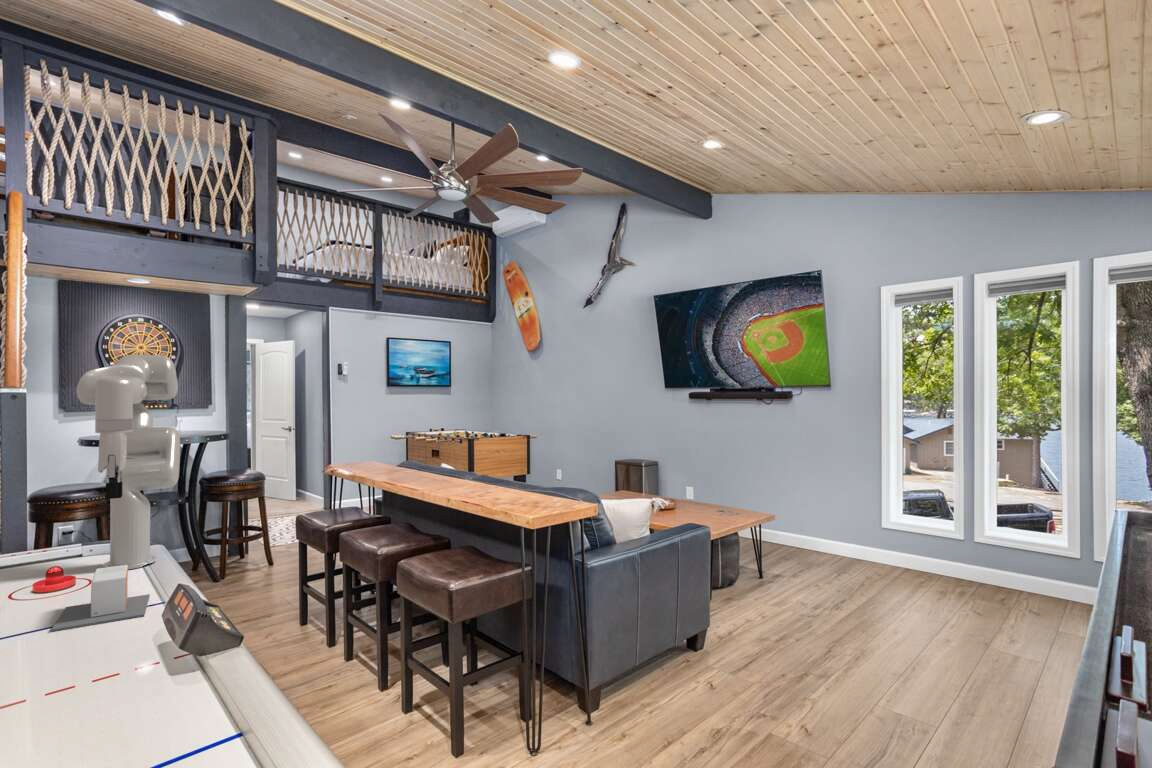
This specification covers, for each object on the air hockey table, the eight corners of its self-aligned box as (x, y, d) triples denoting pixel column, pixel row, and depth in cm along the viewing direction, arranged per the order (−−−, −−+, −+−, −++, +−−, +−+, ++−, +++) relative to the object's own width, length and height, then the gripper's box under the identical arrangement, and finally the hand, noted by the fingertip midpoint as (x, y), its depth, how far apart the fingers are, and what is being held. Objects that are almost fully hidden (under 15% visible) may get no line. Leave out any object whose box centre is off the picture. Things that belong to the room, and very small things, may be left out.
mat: (65, 609, 138) (66, 606, 138) (149, 596, 146) (149, 594, 146) (51, 631, 124) (51, 629, 124) (144, 616, 133) (144, 614, 133)
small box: (128, 596, 145) (125, 612, 134) (95, 601, 141) (89, 618, 131) (128, 563, 145) (126, 577, 134) (95, 567, 141) (90, 582, 131)
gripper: (99, 424, 153) (99, 493, 153) (90, 429, 140) (90, 505, 140) (135, 423, 157) (135, 491, 157) (129, 428, 144) (129, 502, 144)
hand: (114, 497), depth 149 cm, fingers closed
